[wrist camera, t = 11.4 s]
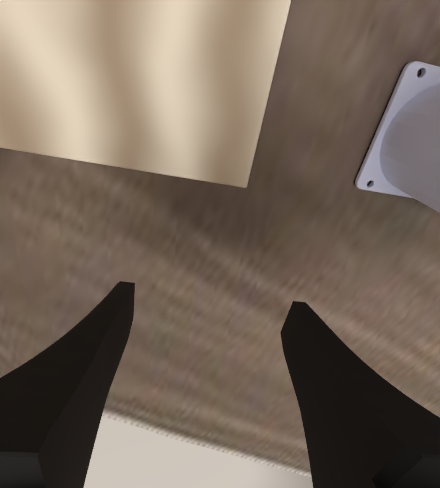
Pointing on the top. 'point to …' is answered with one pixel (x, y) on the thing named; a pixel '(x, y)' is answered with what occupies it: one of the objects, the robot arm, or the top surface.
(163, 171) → the post board
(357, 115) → the top surface
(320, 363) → the robot arm
